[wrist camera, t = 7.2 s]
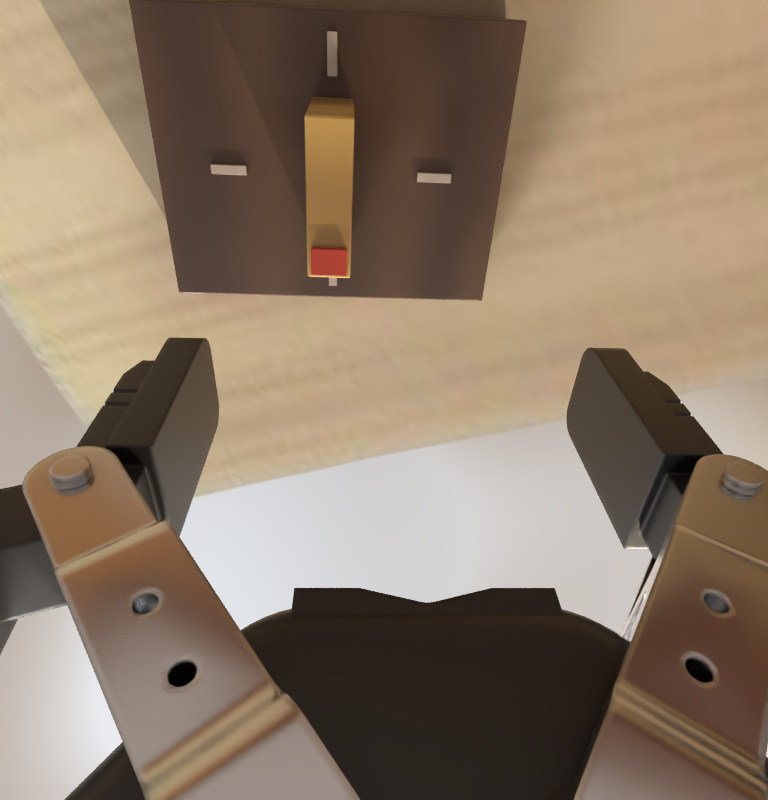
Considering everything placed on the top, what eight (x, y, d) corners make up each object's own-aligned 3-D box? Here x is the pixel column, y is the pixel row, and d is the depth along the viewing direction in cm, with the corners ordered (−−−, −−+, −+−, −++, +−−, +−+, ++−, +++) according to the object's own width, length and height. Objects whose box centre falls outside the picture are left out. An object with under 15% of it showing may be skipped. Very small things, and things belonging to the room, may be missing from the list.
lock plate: (508, 18, 23) (528, 20, 20) (471, 276, 29) (482, 302, 26) (152, -3, 22) (126, -4, 19) (193, 268, 28) (178, 294, 26)
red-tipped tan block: (311, 96, 21) (303, 115, 18) (354, 98, 21) (354, 118, 18) (313, 238, 24) (307, 280, 21) (350, 240, 25) (350, 281, 21)
